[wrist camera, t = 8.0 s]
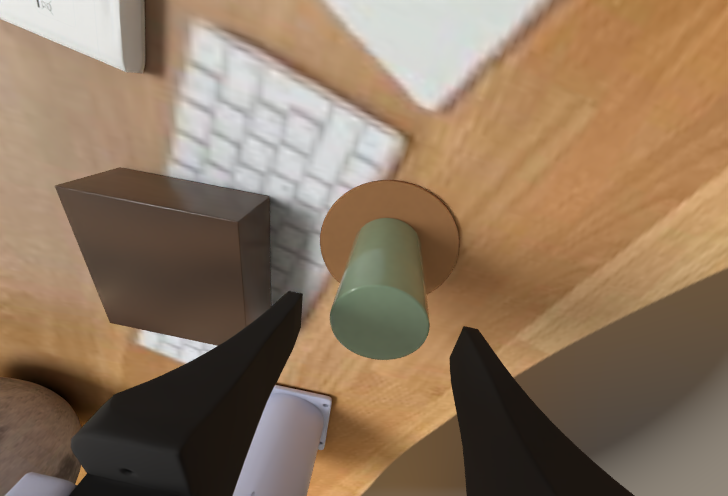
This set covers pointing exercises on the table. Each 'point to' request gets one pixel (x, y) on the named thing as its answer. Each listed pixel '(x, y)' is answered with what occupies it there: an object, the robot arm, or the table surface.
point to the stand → (173, 252)
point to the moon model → (35, 433)
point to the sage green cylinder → (382, 293)
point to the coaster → (397, 204)
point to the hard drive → (86, 27)
